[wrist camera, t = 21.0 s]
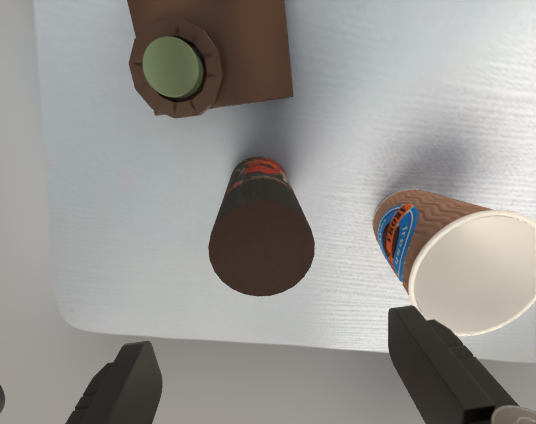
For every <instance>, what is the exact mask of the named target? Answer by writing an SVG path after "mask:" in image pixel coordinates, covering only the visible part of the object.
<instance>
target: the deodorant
mask: <svg viewBox="0 0 536 424" xmlns="http://www.w3.org/2000/svg"><path fill="white" fill-rule="evenodd" d="M314 245H315V242H314V238H313V235H312V231H311V228H310V226H309V224H308V222H307V220H306V217H305V215H304V213H303V211H302V209H301V207H300V205H299V202H298V200H297V198H296V196H295V194H294V192H293V190H292V187H291V185H290V183H289V181H288V179H287V177H286V175H285V173H284V171H283V169H282V168H281V167H280V166H279V165H278V164H277V163H276V162H274V161H273V160H271V159H269V158H264V157H252V158H249V159H246V160H245V161H243V162H242V163H240V164H239V165H238V166H237V167H236V168H235V170H234V172H233V174H232V175H231V178H230V181H229V184H228V187H227V190H226V192H225V195H224V198H223V201H222V204H221V207H220V210H219V213H218V215H217V218H216V221H215V224H214V227H213V230H212V233H211V236H210V242H209V247H208V248H209V258H210V262H211V264H212V267H213V269H214V271H215V273H216V274H217V275H218V277H219V278H220V279H221V280H222V282H224V283H225V284H226V285H228V286H229V287H230V288H232V289H234V290H236V291H238V292H241V293H243V294H247V295H252V296H271V295H274V294H278V293H282V292H284V291H286V290H288V289H290V288H291V287H293V286H295V285H296V284H297V283H298V282H299V281H300V280H301V279H302V278H303V277H304V276H305V275H306V273H307V271H308V270H309V268H310V267H311V264H312V260H313V257H314Z"/></svg>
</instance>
